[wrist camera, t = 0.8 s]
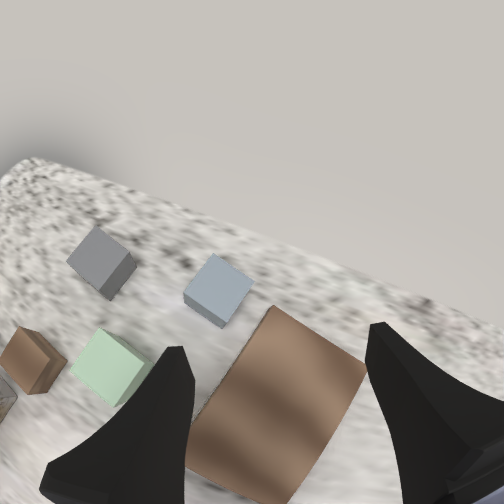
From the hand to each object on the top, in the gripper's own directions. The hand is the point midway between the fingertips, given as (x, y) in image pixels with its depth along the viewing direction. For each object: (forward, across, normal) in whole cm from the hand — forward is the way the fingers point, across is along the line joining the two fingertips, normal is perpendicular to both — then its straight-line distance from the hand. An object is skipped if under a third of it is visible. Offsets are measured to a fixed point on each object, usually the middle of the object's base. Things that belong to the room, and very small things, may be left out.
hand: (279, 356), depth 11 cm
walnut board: (+7, +1, +15) cm, 17 cm away
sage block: (+9, +13, +9) cm, 18 cm away
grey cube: (+15, +14, +3) cm, 21 cm away
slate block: (+15, +5, +7) cm, 17 cm away
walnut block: (+7, +21, +8) cm, 24 cm away
